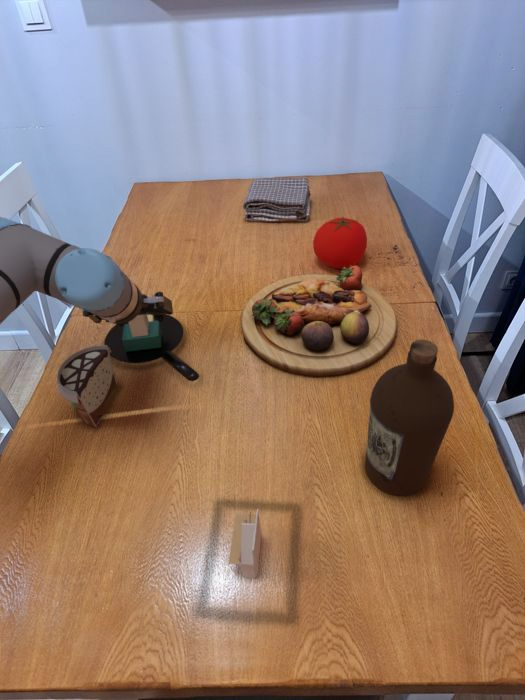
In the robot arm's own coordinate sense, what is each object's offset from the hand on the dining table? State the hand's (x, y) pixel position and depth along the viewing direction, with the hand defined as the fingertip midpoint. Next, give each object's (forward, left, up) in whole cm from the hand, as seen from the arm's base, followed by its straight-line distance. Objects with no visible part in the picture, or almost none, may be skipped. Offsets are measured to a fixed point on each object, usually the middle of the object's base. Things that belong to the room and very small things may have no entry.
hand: (141, 317), depth 98 cm
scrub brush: (+2, -3, -3) cm, 5 cm away
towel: (+12, +61, -5) cm, 62 cm away
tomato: (+34, +38, -5) cm, 51 cm away
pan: (+5, -4, -5) cm, 8 cm away
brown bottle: (+53, -19, -5) cm, 56 cm away
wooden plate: (+34, +13, -5) cm, 36 cm away
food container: (-1, -20, -5) cm, 21 cm away
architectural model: (+36, -38, -5) cm, 53 cm away
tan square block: (0, +1, -4) cm, 4 cm away
